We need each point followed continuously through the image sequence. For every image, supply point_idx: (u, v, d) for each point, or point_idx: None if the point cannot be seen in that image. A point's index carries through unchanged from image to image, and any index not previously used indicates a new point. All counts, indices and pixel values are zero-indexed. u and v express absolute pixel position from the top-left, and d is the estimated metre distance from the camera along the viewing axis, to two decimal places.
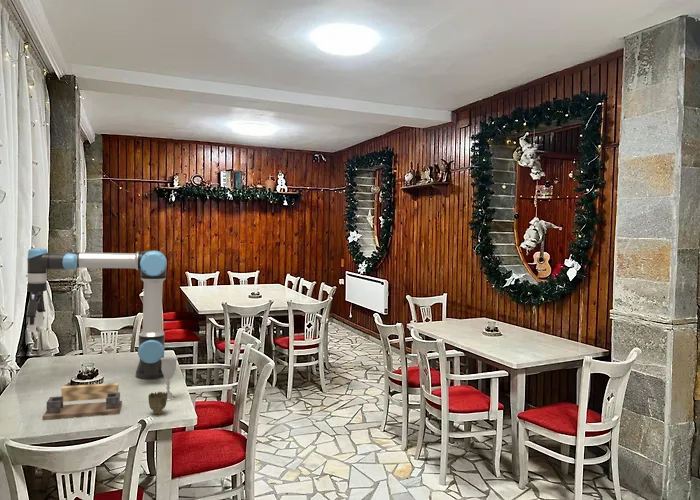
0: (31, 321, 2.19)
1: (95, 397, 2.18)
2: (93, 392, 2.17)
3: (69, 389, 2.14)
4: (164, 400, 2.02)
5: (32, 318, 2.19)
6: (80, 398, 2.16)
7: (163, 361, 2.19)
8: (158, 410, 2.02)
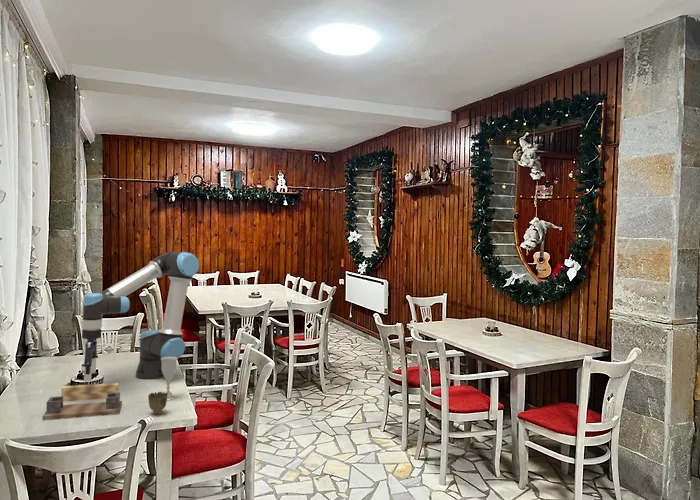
0: (87, 371, 2.10)
1: (95, 397, 2.18)
2: (93, 392, 2.17)
3: (69, 389, 2.14)
4: (164, 400, 2.02)
5: (88, 367, 2.10)
6: (80, 398, 2.16)
7: (163, 361, 2.19)
8: (158, 410, 2.02)
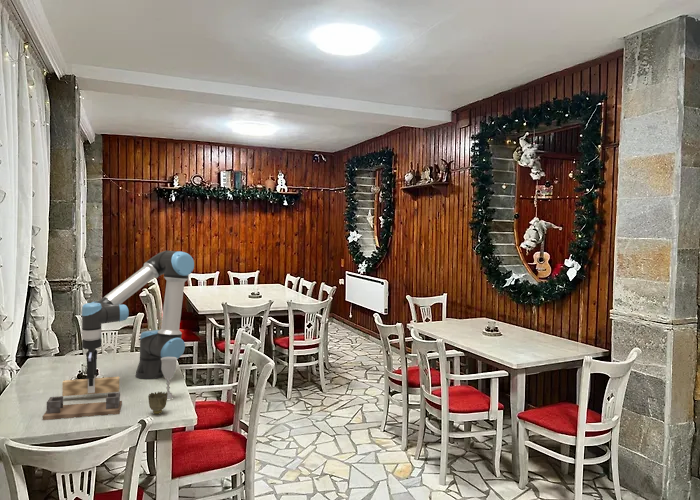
0: (90, 382, 2.16)
1: (96, 391, 2.18)
2: None
3: (70, 383, 2.15)
4: (164, 400, 2.02)
5: (91, 379, 2.16)
6: (81, 392, 2.16)
7: (163, 361, 2.19)
8: (158, 410, 2.02)
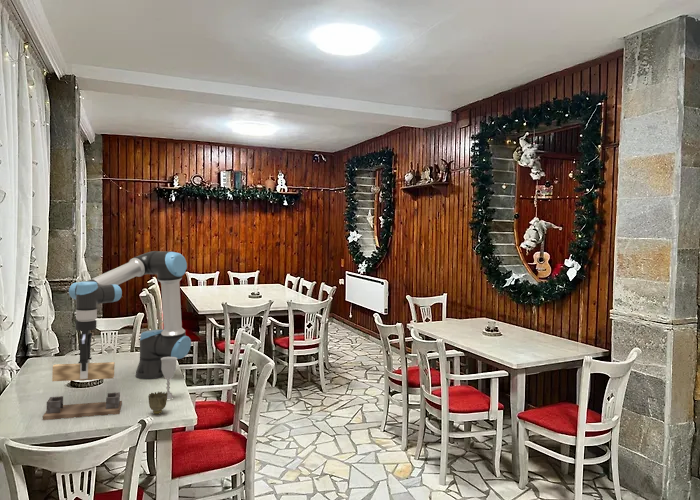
0: (83, 367, 1.99)
1: (89, 377, 2.01)
2: None
3: (61, 367, 1.98)
4: (164, 400, 2.02)
5: (84, 364, 1.99)
6: (73, 377, 1.99)
7: (163, 361, 2.19)
8: (158, 410, 2.02)
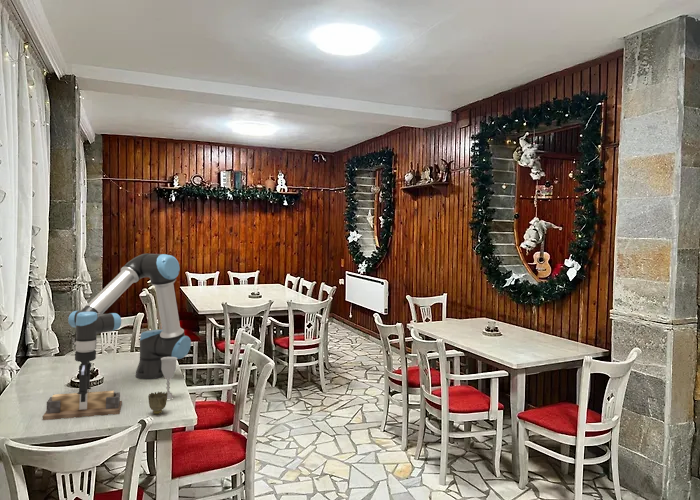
0: (82, 398, 1.99)
1: (89, 406, 2.02)
2: None
3: (61, 397, 1.98)
4: (164, 400, 2.02)
5: (83, 395, 1.99)
6: (72, 407, 2.00)
7: (163, 361, 2.19)
8: (158, 410, 2.02)
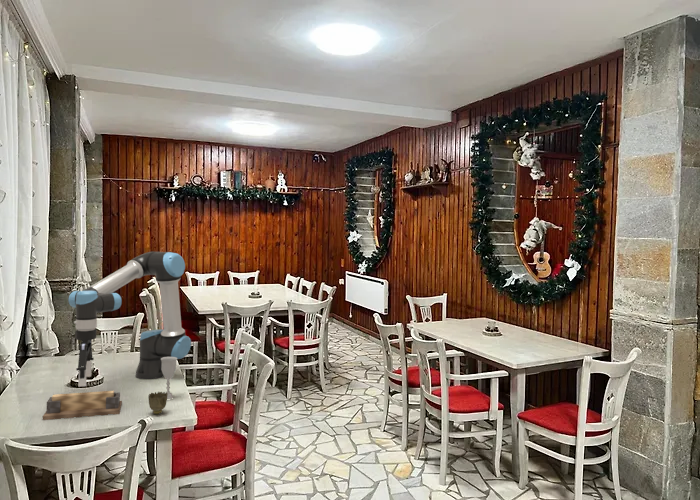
0: (81, 374, 1.94)
1: (89, 406, 2.02)
2: (86, 401, 2.01)
3: (61, 397, 1.98)
4: (164, 400, 2.02)
5: (82, 371, 1.94)
6: (72, 407, 2.00)
7: (163, 361, 2.19)
8: (158, 410, 2.02)
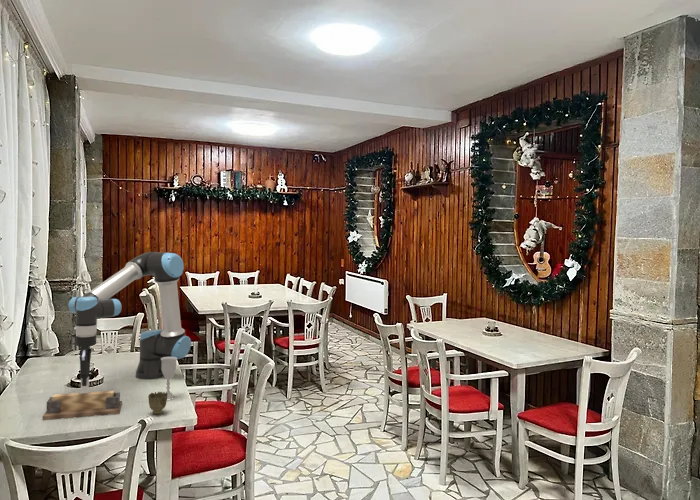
0: (84, 382, 2.00)
1: (88, 406, 2.02)
2: (86, 401, 2.01)
3: (61, 397, 1.98)
4: (164, 400, 2.02)
5: (85, 379, 2.00)
6: (72, 407, 2.00)
7: (163, 361, 2.19)
8: (158, 410, 2.02)
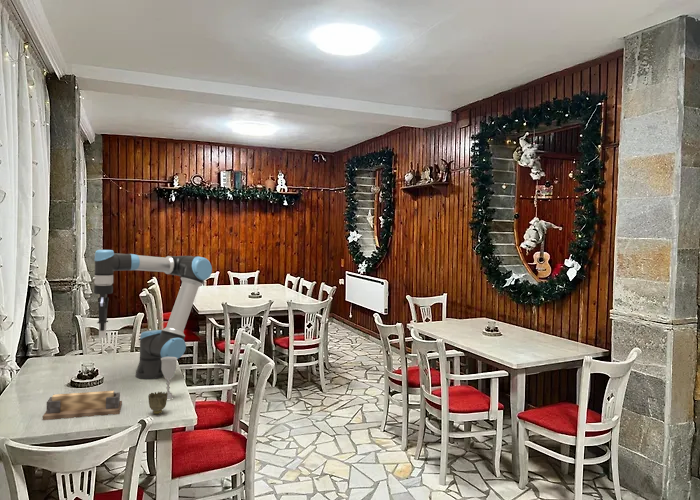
0: (102, 327, 2.19)
1: (89, 406, 2.02)
2: (86, 401, 2.01)
3: (61, 397, 1.98)
4: (164, 400, 2.02)
5: (103, 324, 2.19)
6: (72, 407, 2.00)
7: (163, 361, 2.19)
8: (158, 410, 2.02)
